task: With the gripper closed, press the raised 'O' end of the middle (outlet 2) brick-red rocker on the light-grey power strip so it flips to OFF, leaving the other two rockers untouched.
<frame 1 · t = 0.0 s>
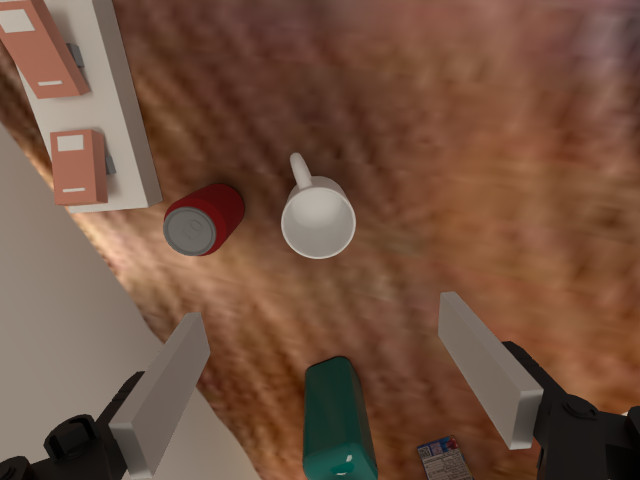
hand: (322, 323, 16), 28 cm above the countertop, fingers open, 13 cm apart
mug: (312, 191, 42), on the countertop
green bottle: (334, 379, 54), on the countertop
beverage can: (222, 206, 43), on the countertop
power strip: (86, 66, 36), on the countertop
rocker 3: (79, 168, 34), point 7 cm above the countertop, hinge at -20.0°
juice carton: (442, 458, 61), on the countertop
rocker 2: (39, 52, 30), point 7 cm above the countertop, hinge at 20.0°
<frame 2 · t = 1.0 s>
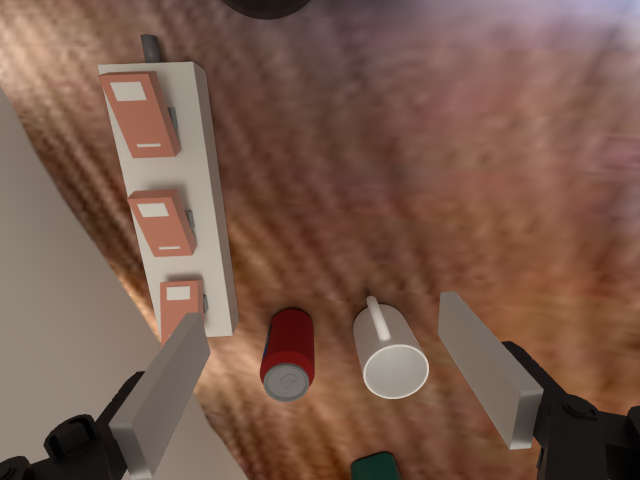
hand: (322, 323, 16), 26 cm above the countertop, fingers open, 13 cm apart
mug: (374, 314, 47), on the countertop
rocker 1: (143, 117, 31), point 7 cm above the countertop, hinge at 20.0°
green bottle: (376, 471, 57), on the countertop
beverage can: (292, 324, 47), on the countertop
power strip: (187, 212, 41), on the countertop
rocker 3: (182, 312, 38), point 7 cm above the countertop, hinge at -20.0°
rocker 2: (164, 225, 34), point 7 cm above the countertop, hinge at 20.0°
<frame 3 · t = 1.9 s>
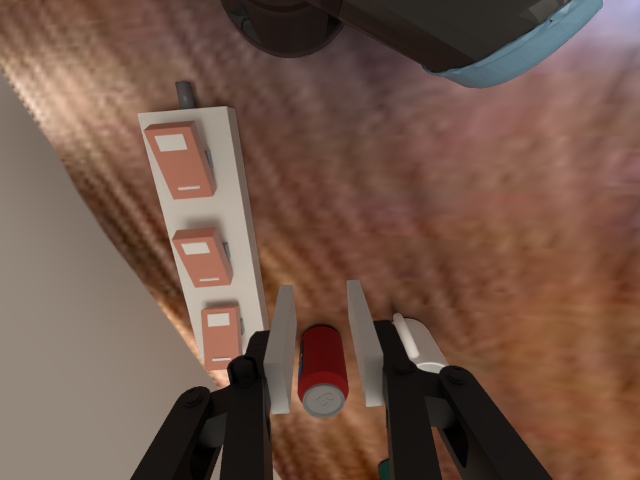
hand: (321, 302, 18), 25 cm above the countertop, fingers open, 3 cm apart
mug: (399, 328, 49), on the countertop
rocker 1: (183, 162, 33), point 7 cm above the countertop, hinge at 20.0°
green bottle: (402, 470, 60), on the countertop
beverage can: (320, 339, 49), on the countertop
power strip: (220, 240, 43), on the countertop
rocker 3: (222, 337, 40), point 7 cm above the countertop, hinge at -20.0°
rocker 2: (204, 259, 37), point 7 cm above the countertop, hinge at 20.0°
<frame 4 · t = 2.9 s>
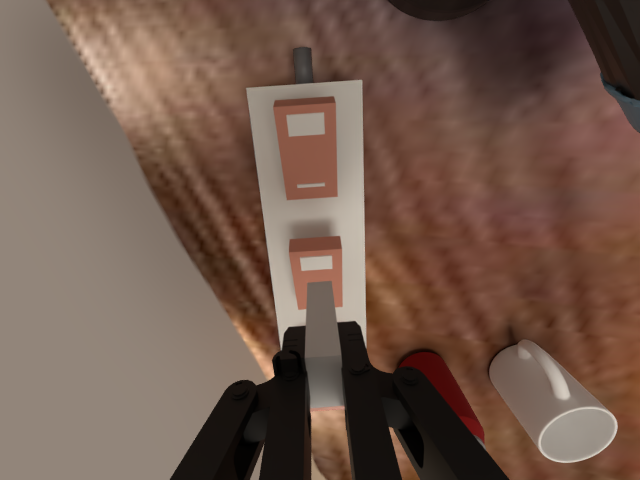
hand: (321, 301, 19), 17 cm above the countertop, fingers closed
mug: (513, 354, 41), on the countertop
rocker 1: (308, 152, 25), point 7 cm above the countertop, hinge at 20.0°
beverage can: (419, 366, 42), on the countertop
power strip: (317, 250, 35), on the countertop
rocker 3: (324, 369, 33), point 7 cm above the countertop, hinge at -20.0°
rocker 2: (317, 275, 29), point 7 cm above the countertop, hinge at 20.0°
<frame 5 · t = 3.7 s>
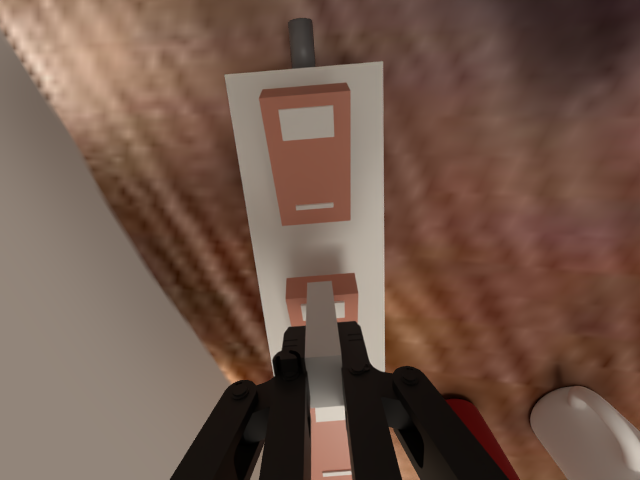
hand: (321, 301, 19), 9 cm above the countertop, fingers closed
mug: (560, 398, 34), on the countertop
rocker 1: (310, 162, 18), point 7 cm above the countertop, hinge at 20.0°
beverage can: (446, 413, 35), on the countertop
power strip: (322, 280, 28), on the countertop
rocker 3: (334, 435, 26), point 7 cm above the countertop, hinge at -20.0°
rocker 2: (324, 322, 22), point 7 cm above the countertop, hinge at 20.0°, touching gripper
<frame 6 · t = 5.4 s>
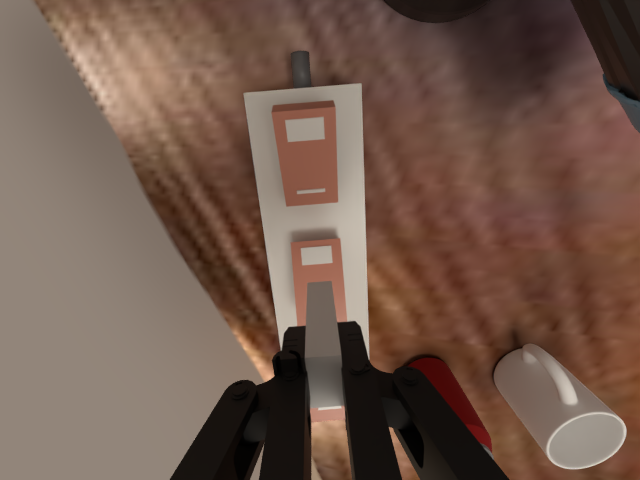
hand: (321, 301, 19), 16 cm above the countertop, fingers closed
mug: (518, 358, 41), on the countertop
rocker 1: (308, 157, 25), point 7 cm above the countertop, hinge at 20.0°
beverage can: (422, 372, 41), on the countertop
power strip: (317, 256, 35), on the countertop
rocker 3: (327, 378, 32), point 7 cm above the countertop, hinge at -20.0°
rocker 2: (319, 282, 28), point 7 cm above the countertop, hinge at -20.7°
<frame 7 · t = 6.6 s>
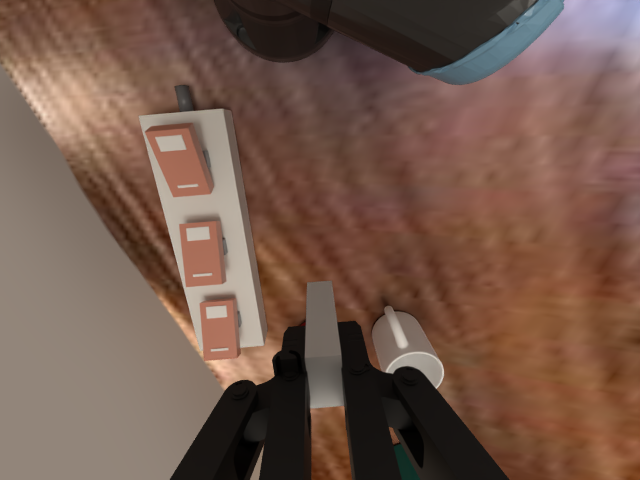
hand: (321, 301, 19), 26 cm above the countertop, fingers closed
mug: (391, 321, 51), on the countertop
rocker 1: (182, 162, 35), point 7 cm above the countertop, hinge at 20.0°
green bottle: (396, 459, 62), on the countertop
power strip: (218, 237, 45), on the countertop
rocker 3: (220, 328, 42), point 7 cm above the countertop, hinge at -20.0°
rocker 2: (203, 253, 38), point 7 cm above the countertop, hinge at -16.3°
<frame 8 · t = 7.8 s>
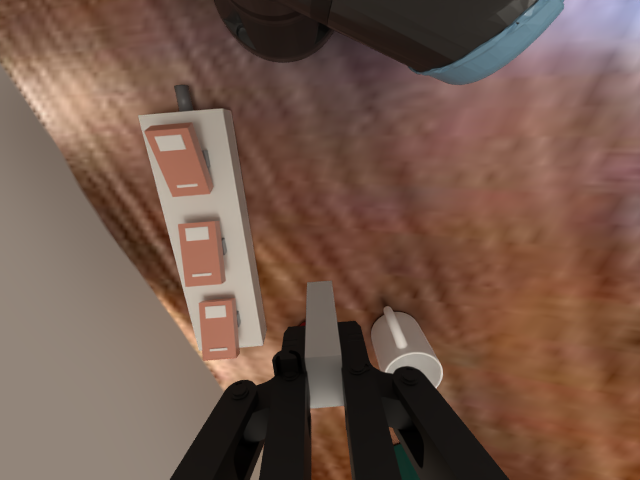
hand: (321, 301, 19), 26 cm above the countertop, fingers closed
mug: (390, 321, 51), on the countertop
rocker 1: (181, 161, 35), point 7 cm above the countertop, hinge at 20.0°
green bottle: (395, 460, 62), on the countertop
power strip: (217, 236, 45), on the countertop
rocker 3: (219, 328, 42), point 7 cm above the countertop, hinge at -20.0°
rocker 2: (202, 253, 38), point 7 cm above the countertop, hinge at -14.6°
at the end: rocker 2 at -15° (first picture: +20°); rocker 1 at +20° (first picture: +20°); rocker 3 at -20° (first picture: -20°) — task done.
